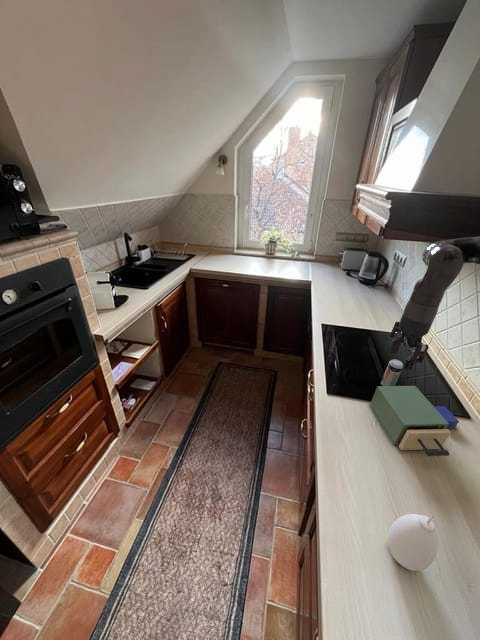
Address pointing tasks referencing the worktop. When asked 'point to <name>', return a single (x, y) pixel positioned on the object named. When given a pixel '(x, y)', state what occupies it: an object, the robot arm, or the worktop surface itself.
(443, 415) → the blue block
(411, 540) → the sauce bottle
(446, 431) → the drawer
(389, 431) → the cabinet
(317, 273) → the worktop surface
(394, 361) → the beer can
